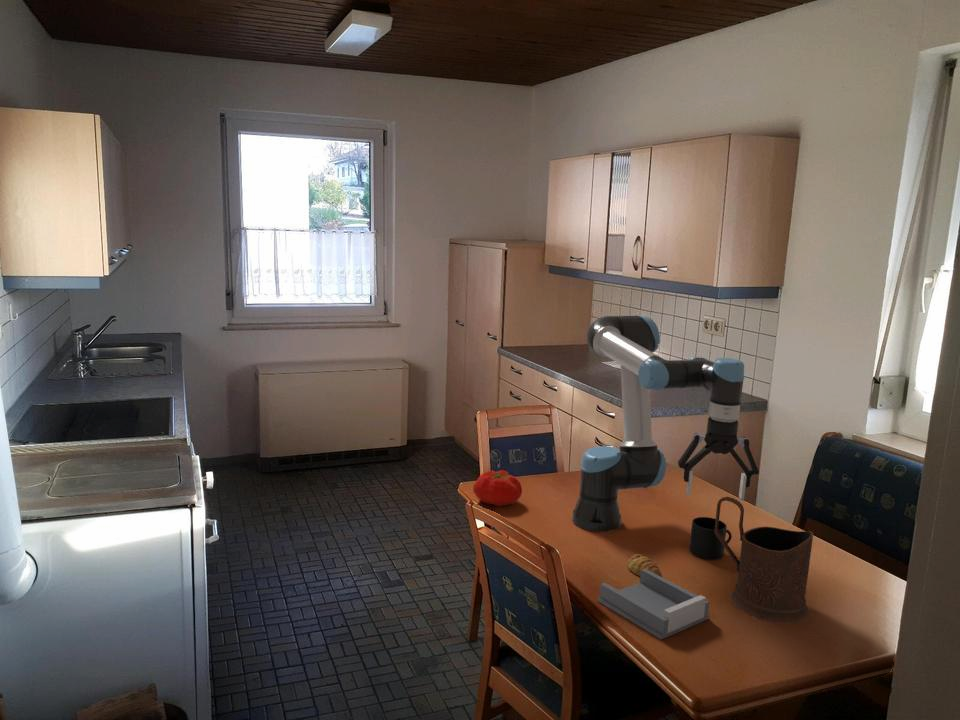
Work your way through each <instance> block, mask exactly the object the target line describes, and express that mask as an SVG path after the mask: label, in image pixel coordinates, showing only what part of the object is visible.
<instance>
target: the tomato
mask: <svg viewBox="0 0 960 720" xmlns="http://www.w3.org/2000/svg"><path fill="white" fill-rule="evenodd" d="M472 489H473V490H472V491H473V493H474V494H475V496H476V497H477V498H478V499H479V500H480V501H482V502H483V503H485V504H487V505H494V506H497V507H502V506H503V507H504V506H507V505H511V504H513V503H515V502H517V501H518V500H519V499H520V498H521V496H522V493H523V488H522V484H521V482H520V481H519V480H518V478H517V477H516V476H515V475H514V476H513V475H511V474H510V473H509V472H507V471H506V470H502V469H500V470H498V471H494V470H487V471H485V472H483V473H482V474H481V475H479V477H478V478H477V480H476V481H475V482H474V484H473V487H472Z"/></svg>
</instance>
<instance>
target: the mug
mask: <svg viewBox="0 0 960 720" xmlns="http://www.w3.org/2000/svg"><path fill="white" fill-rule="evenodd" d="M715 521H716V518H714V517H708V516H701V517H700V516H699V517H695V518H693V519H692V522H691V531H690V540H689V552H690V553H691V554H692V555H693V556H695V557H697V558H700V559H703V560H709V561H710V560H711V561H714V560H716V561H717V560H721V559H722V558H723V557H724V554H725V548H724V546H723V545H722V543H721V542H720V541H719V539H718V538H717V537H716V535H715ZM718 531H719V533H720V535H721V536H722V537H723V539H724V540H725V542H726V543H727V544H729V543H730V542H731V540H732V536H733V535H732V533H731V531H730V530H729V529H728V527H727V524H726V523H725V522H724V521H722V520H721V519H719V525H718ZM726 535H728V538H727V537H726ZM726 538H727V540H726Z"/></svg>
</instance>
